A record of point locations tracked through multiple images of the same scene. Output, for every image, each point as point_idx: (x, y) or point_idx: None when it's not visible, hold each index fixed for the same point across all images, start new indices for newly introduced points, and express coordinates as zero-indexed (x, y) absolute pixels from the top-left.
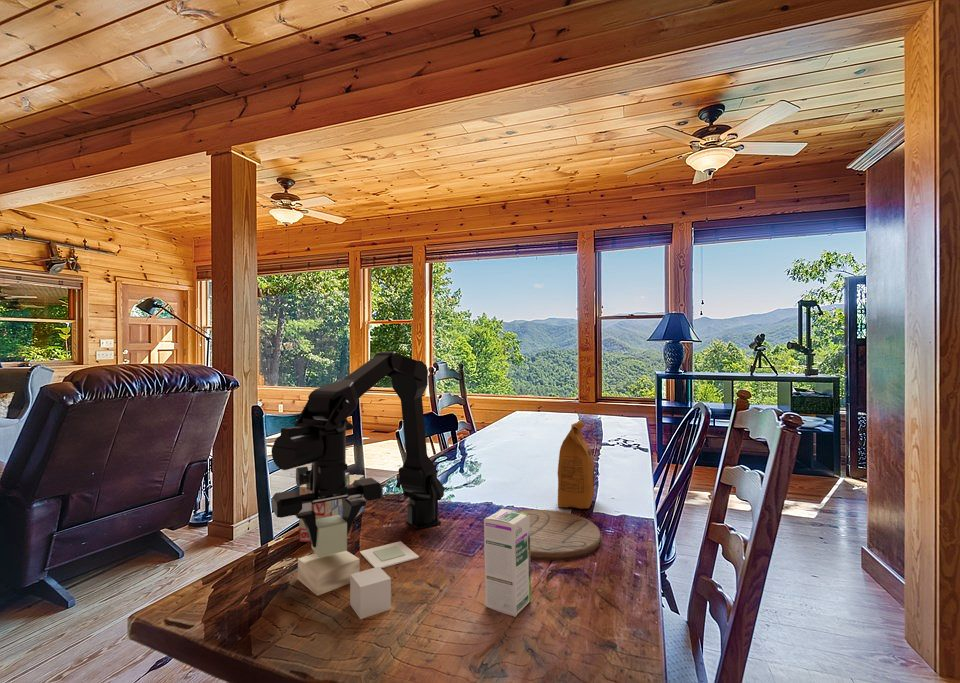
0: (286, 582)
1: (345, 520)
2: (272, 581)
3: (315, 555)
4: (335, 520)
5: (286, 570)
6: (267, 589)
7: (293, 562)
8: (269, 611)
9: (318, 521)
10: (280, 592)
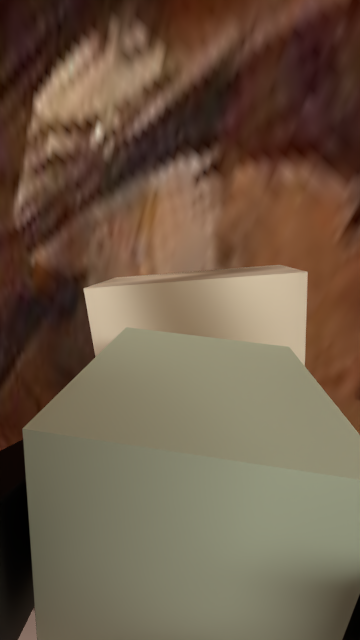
0: (78, 275)
1: (350, 638)
2: (38, 234)
3: (162, 307)
4: (252, 610)
5: (97, 171)
6: (18, 282)
7: (140, 104)
8: (11, 407)
9: (82, 520)
10: (50, 329)
